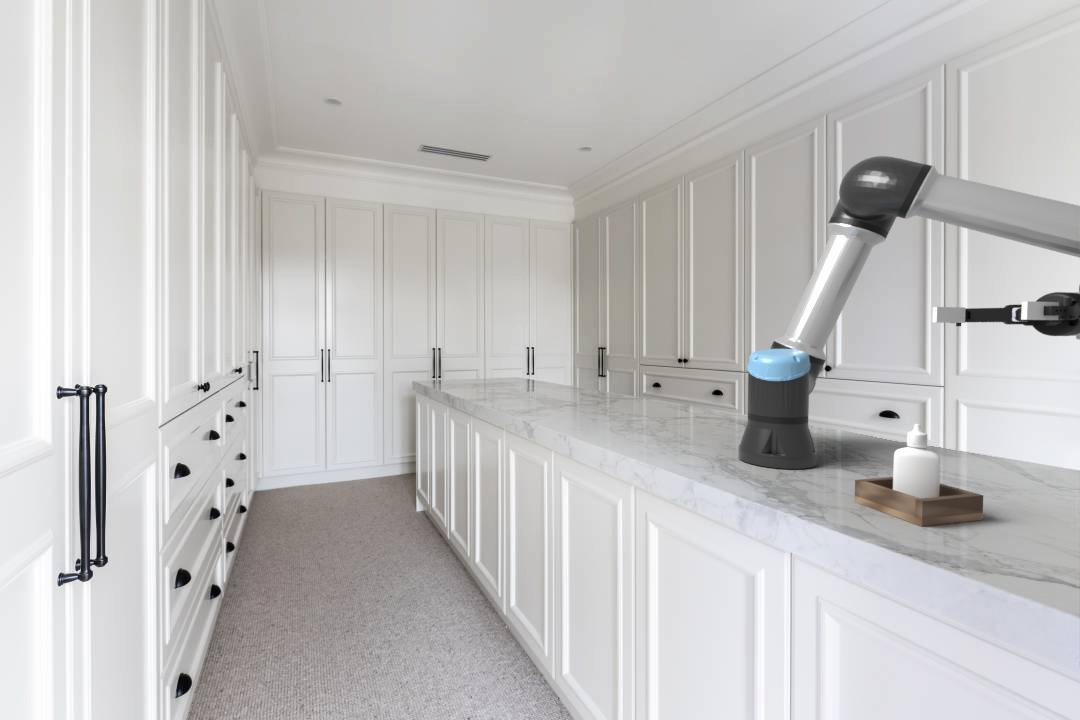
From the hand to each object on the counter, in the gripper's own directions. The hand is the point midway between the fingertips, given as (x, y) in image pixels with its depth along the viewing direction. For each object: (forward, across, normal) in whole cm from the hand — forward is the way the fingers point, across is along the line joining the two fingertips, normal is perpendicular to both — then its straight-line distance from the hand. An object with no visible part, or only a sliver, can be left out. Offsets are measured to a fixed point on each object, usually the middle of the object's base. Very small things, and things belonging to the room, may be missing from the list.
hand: (975, 312), depth 84 cm
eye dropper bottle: (+16, -4, -29) cm, 34 cm away
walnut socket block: (+16, -4, -30) cm, 34 cm away
